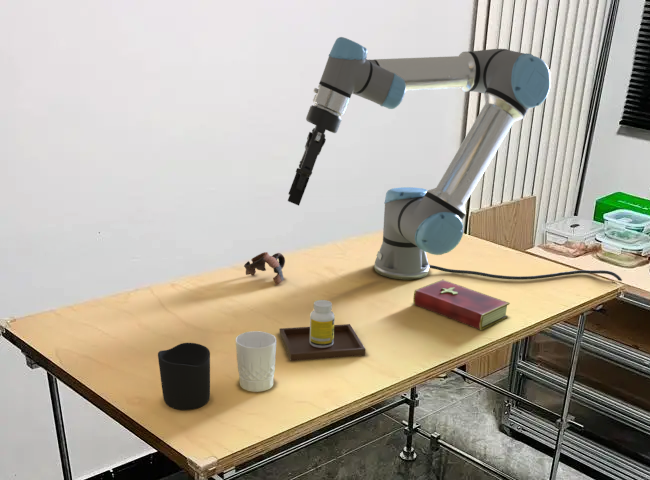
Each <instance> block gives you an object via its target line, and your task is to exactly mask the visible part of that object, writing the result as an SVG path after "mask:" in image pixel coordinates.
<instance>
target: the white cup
mask: <svg viewBox="0 0 650 480" xmlns="http://www.w3.org/2000/svg"><path fill="white" fill-rule="evenodd" d="M235 351H236V363H237V371H238V380H239V386H240V387H241V388H242V390H245V391H248V392H253V393H257V392H258V393H259V392H265V391H268V390H270V389H271V388H272V387H274V380H275V379H274V375H275V371H276V359H277V357H276V356H277V355H276V354H277V337H276V336H275V335H274V334H272V333H269V332H266V331H259V330H252V331H251V330H250V331H246V332H242V333H240V334H238V335H237V336H236V337H235Z"/></svg>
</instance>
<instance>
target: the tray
mask: <svg viewBox="0 0 650 480" xmlns="http://www.w3.org/2000/svg"><path fill="white" fill-rule="evenodd" d="M278 333H279V337H280V340H281V342H282V344H283V347H284V349H285V351H286V353H287V356H288V359H289V361H290V362H297V361H311V360H320V359H322V360H323V359H324V360H325V359H337V358H348V357H351V358H352V357H365V356H366V347H365V346H364V344H363V343H362V341H361V339H360V338H359V336H358V335H357V333H356V331H355V329H354V327H352V325H351V324H350V323H347V324H346V323H345V324H334V342H333V345H332V346H330V347H328V348H316V347H314V346H312V345H311V344H310V326H297V327H283V328H279V332H278Z"/></svg>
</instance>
